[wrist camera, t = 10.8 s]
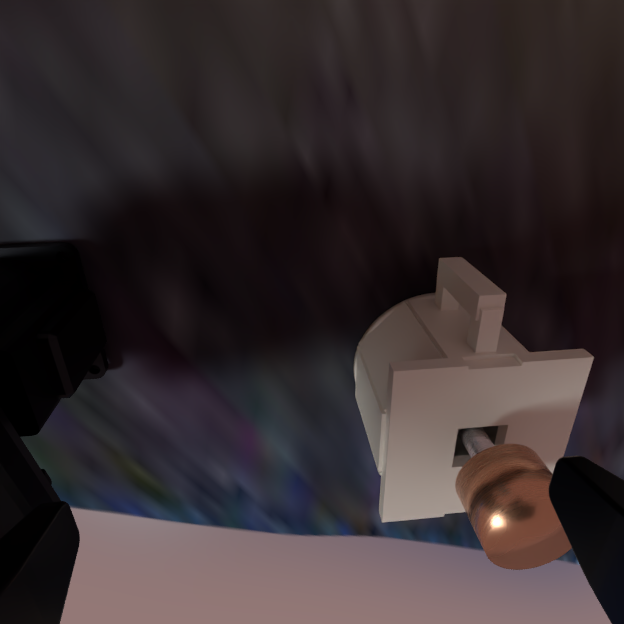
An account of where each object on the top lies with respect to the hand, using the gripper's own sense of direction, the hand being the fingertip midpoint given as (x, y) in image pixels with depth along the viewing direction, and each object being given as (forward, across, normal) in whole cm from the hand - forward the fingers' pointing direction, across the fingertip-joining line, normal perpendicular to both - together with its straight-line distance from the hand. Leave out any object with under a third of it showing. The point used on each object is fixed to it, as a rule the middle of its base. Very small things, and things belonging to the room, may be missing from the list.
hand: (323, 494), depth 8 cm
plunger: (+12, -7, +6) cm, 15 cm away
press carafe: (+13, -7, +5) cm, 16 cm away
